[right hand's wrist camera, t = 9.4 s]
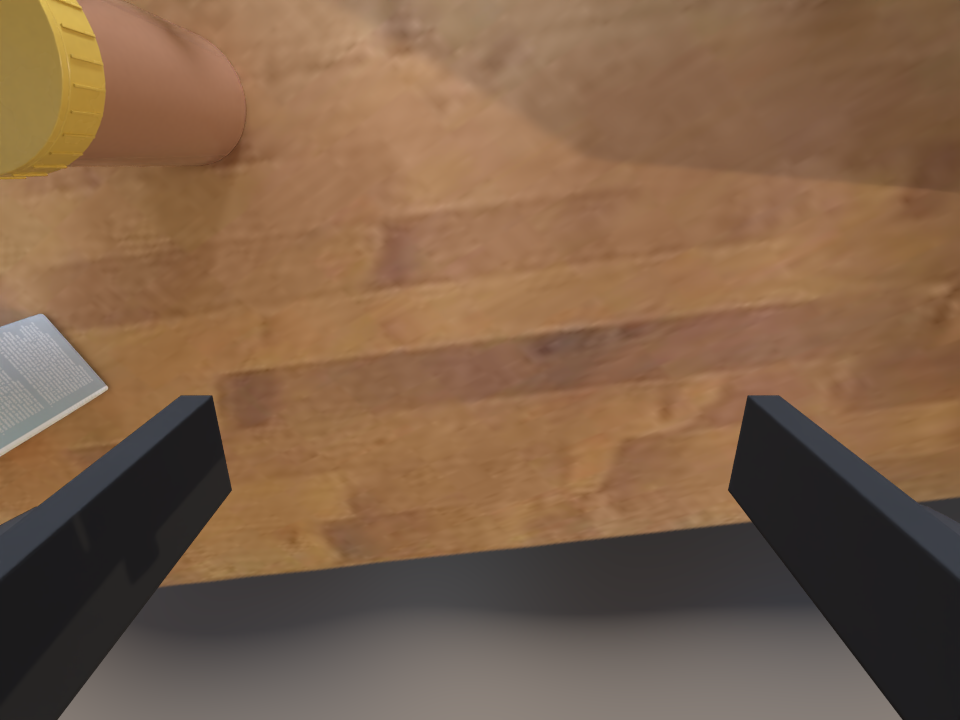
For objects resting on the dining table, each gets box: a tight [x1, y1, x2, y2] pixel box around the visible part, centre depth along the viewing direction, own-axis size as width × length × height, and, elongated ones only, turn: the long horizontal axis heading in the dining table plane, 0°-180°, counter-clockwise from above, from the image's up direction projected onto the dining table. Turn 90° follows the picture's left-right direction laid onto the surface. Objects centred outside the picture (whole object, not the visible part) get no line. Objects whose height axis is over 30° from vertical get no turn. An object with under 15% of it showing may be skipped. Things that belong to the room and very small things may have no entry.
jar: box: [67, 0, 246, 167], centre depth 26 cm, size 8×8×16 cm
